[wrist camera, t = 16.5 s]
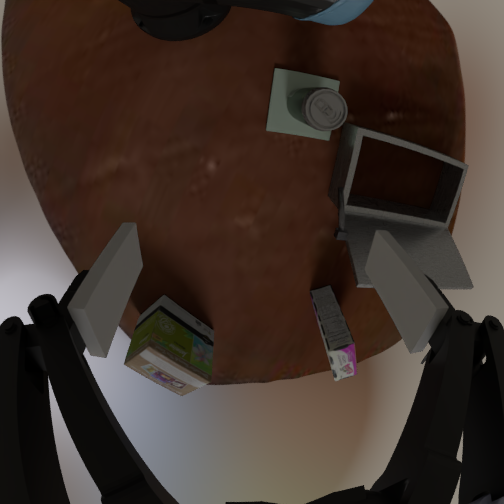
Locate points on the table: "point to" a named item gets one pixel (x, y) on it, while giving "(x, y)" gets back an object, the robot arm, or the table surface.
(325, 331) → the candy bar box
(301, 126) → the pad
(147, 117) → the table surface
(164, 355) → the tea box
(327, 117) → the beer can
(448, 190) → the case
